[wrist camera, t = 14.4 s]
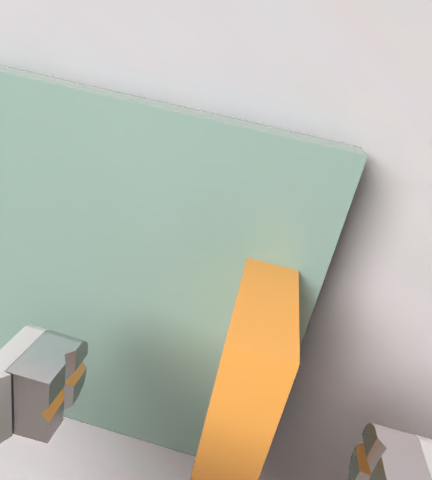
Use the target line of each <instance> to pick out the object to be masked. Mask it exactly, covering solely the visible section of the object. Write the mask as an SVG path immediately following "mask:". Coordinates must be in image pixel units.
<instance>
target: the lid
mask: <svg viewBox="0 0 432 480" xmlns="http://www.w3.org/2000/svg"><path fill="white" fill-rule="evenodd" d="M367 157H368V155H367V154H366V153H365V152H364V150H363V149H362V148H361V147H358V146H353V145H349V144H344V143H340V142H336V141H331V140H327V139H322V138H318V137H314V136H309V135H305V134H300V133H296V132H292V131H287V130H283V129H279V128H274V127H270V126H265V125H261V124H257V123H252V122H248V121H243V120H239V119H235V118H230V117H226V116H221V115H217V114H213V113H208V112H204V111H199V110H195V109H191V108H186V107H182V106H177V105H173V104H169V103H164V102H160V101H156V100H151V99H147V98H142V97H138V96H134V95H129V94H125V93H120V92H116V91H112V90H107V89H103V88H98V87H94V86H90V85H85V84H81V83H76V82H72V81H68V80H63V79H59V78H55V77H50V76H46V75H41V74H37V73H33V72H28V71H24V70H19V69H15V68H11V67H6V66H2V65H0V349H1V348H2V347H4V346H5V345H6V344H7V343H8V342H9V341H10V340H11V339H12V338H13V337H14V336H15V335H16V334H17V333H18V332H19V331H20V330H22V329H23V328H24V327H25V326H27V325H30V324H32V325H35V326H38V327H41V328H44V329H47V330H52V331H56V332H59V333H62V334H65V335H68V336H72V337H75V338H78V339H81V340H84V341H86V342H87V343H88V354H87V356H86V357H85V358H84V360H83V363H84V364H85V366H86V368H87V370H86V377H85V381H84V385H83V387H82V390H81V392H80V394H79V397H78V398H77V400H76V401H75V403H74V404H73V406H71V407H69V408H67V409H65V410H64V413H63V416H64V417H67V418H70V419H74V420H77V421H80V422H84V423H87V424H90V425H93V426H97V427H100V428H103V429H107V430H110V431H113V432H116V433H120V434H123V435H126V436H130V437H133V438H136V439H139V440H143V441H146V442H149V443H153V444H156V445H159V446H163V447H166V448H169V449H172V450H176V451H179V452H182V453H186V454H189V455H192V456H195V457H196V458H195V462H194V466H193V470H192V474H191V478H190V480H258V479H259V476H260V473H261V470H262V468H263V465H264V462H265V459H266V457H267V454H268V451H269V448H270V446H271V443H272V440H273V437H274V435H275V432H276V429H277V426H278V423H279V421H280V418H281V415H282V412H283V410H284V407H285V404H286V401H287V399H288V396H289V393H290V390H291V387H292V385H293V382H294V379H295V376H296V374H297V371H298V368H299V365H300V346H301V344H302V341H303V338H304V335H305V332H306V330H307V327H308V324H309V321H310V318H311V315H312V313H313V310H314V307H315V304H316V301H317V298H318V296H319V293H320V290H321V287H322V284H323V281H324V279H325V276H326V273H327V270H328V267H329V264H330V262H331V259H332V256H333V253H334V250H335V248H336V245H337V242H338V239H339V236H340V233H341V231H342V228H343V225H344V222H345V219H346V216H347V214H348V211H349V208H350V205H351V202H352V199H353V197H354V194H355V191H356V188H357V185H358V182H359V180H360V177H361V174H362V171H363V168H364V166H365V163H366V160H367Z"/></svg>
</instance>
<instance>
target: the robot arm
mask: <svg viewBox="0 0 432 480" xmlns="http://www.w3.org/2000/svg"><path fill="white" fill-rule="evenodd" d="M87 354H88V343H87V342H86V341H84V340H81V339H78V338H75V337H72V336H68V335H65V334H62V333H59V332H56V331H52V330H47V329H44V328H41V327H38V326H35V325H32V324H30V325H27V326H25V327H24V328H23V329H22V330H20V331H19V332H18V333H17V334H16V335H15V336H14V337H13V338H12V339H11V340H10V341H9V342H8V343H7V344H6V345H5V346H4V347H2V348H1V349H0V443H1V442H3V441H5V440H6V439H8V438H10V437H11V436H12V433H13V434H16V435H20V436H23V437H27V438H30V439H34V440H38V441H41V442H45V443H48V442H49V440H50V439H51V438H52V436H53V435H54V433H55V432H56V430H57V429H58V427H59V426H60V424H61V423H62V421H63V413H64V410H65V409H67V408H69V407H71V406H73V404H74V403H75V401H76V400H77V398H78V397H79V394H80V392H81V390H82V387H83V385H84V381H85V377H86V370H87V368H86V366H85V364H84V363H83V360H84V358H85V357H86V356H87ZM362 434H363V440H364V443H362V444H360V445H358V446H356V448H355V450H354V452H353V454H352V457H351V462H350V467H349V480H432V439H430V438H426V437H422V436H418V435H415V434H414V435H413V434H410V433H407V432H403V431H399V430H396V429H392V428H389V427H385V426H381V425H378V424H374V423H371V422H370V423H369V424H368V425H367V426H366V427H365V429H364V431H363V433H362Z"/></svg>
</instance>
